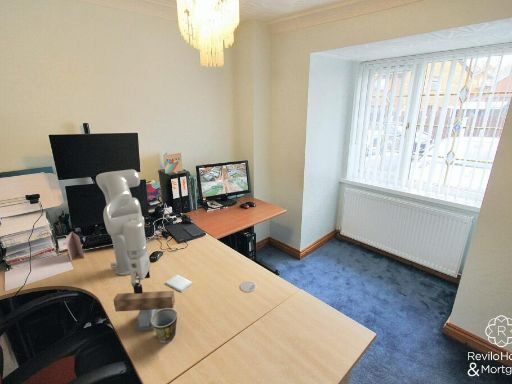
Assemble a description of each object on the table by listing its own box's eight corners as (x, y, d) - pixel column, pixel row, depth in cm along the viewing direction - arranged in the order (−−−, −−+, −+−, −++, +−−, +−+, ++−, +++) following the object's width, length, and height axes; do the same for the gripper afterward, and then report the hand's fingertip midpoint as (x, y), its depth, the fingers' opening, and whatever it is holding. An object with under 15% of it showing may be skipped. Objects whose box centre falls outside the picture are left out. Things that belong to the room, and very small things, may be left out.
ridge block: (134, 331, 111) (131, 317, 109) (143, 310, 123) (141, 297, 120) (153, 330, 112) (151, 316, 110) (161, 309, 123) (159, 296, 121)
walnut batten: (115, 311, 112) (113, 300, 110) (119, 304, 116) (117, 293, 114) (172, 308, 114) (171, 297, 112) (174, 301, 118) (173, 290, 116)
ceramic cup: (152, 332, 111) (149, 313, 108) (176, 323, 115) (173, 304, 112) (157, 357, 100) (154, 336, 97) (183, 345, 105) (181, 326, 101)
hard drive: (165, 282, 141) (181, 290, 134) (177, 274, 147) (193, 281, 141) (165, 284, 141) (181, 293, 135) (177, 276, 148) (193, 284, 141)
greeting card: (75, 252, 171) (70, 231, 166) (88, 250, 173) (83, 230, 168) (69, 261, 161) (63, 240, 156) (83, 259, 163) (78, 238, 158)
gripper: (139, 262, 98) (145, 299, 104) (152, 239, 115) (157, 272, 120) (118, 263, 98) (125, 300, 103) (135, 239, 114) (140, 272, 120)
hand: (142, 285), depth 112 cm, fingers open, 9 cm apart
